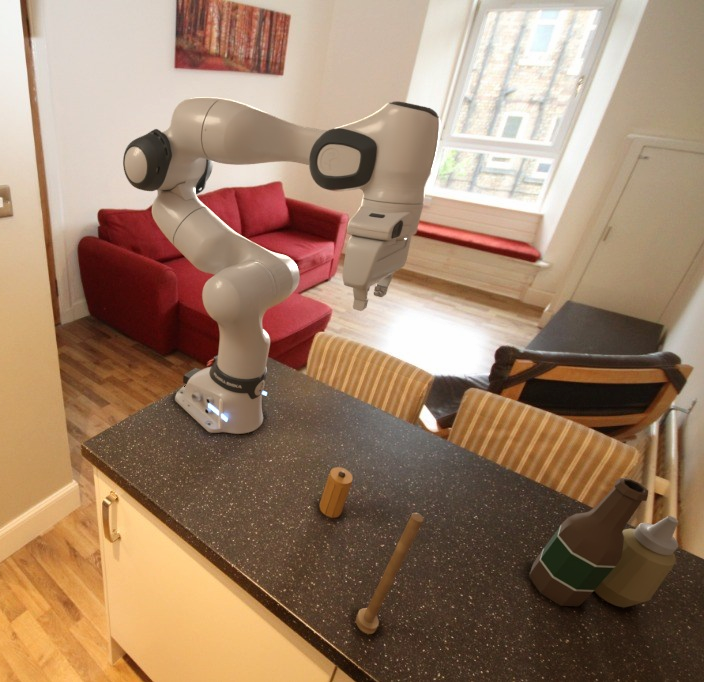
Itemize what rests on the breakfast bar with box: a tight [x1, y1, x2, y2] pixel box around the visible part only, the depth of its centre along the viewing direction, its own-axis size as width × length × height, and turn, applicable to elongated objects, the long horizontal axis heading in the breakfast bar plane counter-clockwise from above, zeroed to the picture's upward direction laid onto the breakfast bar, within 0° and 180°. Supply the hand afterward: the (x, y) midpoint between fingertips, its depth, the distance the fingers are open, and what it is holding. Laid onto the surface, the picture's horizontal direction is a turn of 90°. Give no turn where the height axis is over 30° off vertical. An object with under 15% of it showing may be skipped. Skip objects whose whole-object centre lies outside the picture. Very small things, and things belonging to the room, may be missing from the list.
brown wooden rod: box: [355, 512, 425, 635], centre depth 61 cm, size 3×3×24 cm
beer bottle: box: [528, 477, 649, 607], centre depth 69 cm, size 8×8×24 cm
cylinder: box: [318, 466, 353, 519], centre depth 83 cm, size 4×4×10 cm
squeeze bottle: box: [593, 515, 679, 608], centre depth 71 cm, size 8×8×18 cm
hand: (369, 302), depth 76 cm, fingers open, 8 cm apart
